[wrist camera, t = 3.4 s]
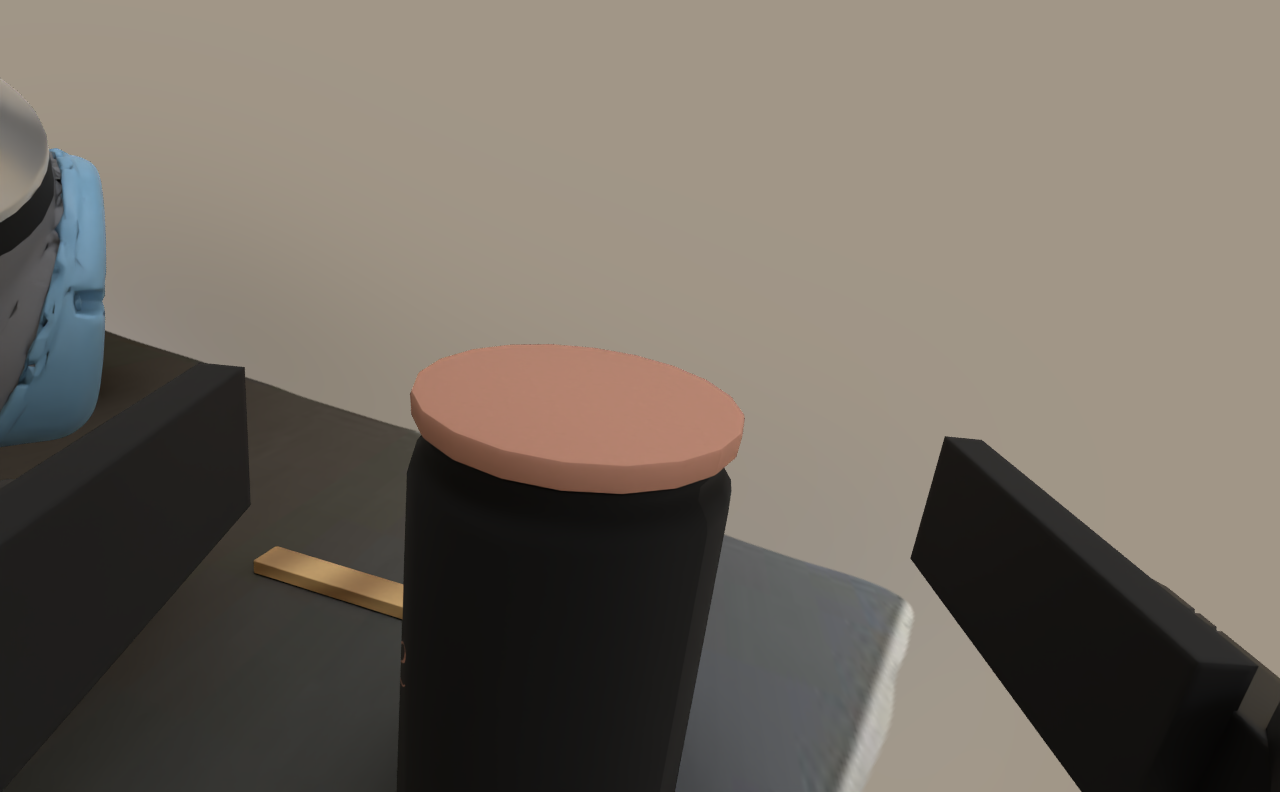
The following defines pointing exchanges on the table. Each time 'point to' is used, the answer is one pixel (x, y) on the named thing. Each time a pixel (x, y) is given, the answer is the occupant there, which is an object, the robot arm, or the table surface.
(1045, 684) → the robot arm
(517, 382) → the coffee jar
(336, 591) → the tan flat long part
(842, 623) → the table surface
